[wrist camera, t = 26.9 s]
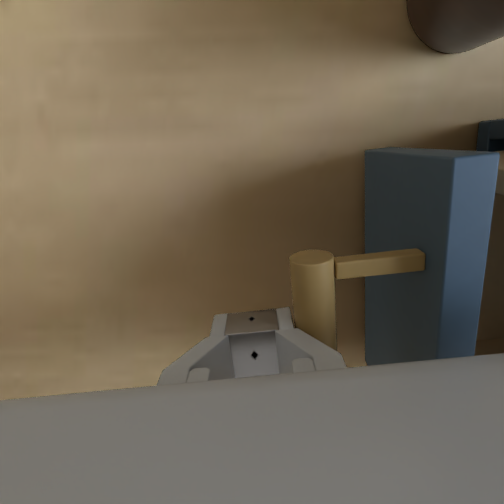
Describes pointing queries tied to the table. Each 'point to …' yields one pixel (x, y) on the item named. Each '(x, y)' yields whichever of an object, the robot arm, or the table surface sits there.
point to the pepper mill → (456, 23)
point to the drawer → (418, 259)
